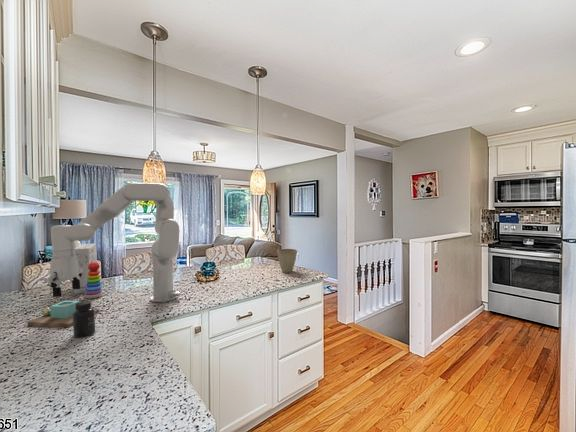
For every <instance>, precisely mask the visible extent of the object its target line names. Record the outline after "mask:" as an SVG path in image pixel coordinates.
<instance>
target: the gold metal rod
mask: <svg viewBox="0 0 576 432" xmlns="http://www.w3.org/2000/svg"><path fill="white" fill-rule="evenodd" d="M49 309H50V306H48V307H45V308H44V310H45V317H48V316H49Z"/></svg>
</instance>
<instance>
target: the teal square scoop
mask: <svg viewBox="0 0 576 432" xmlns="http://www.w3.org/2000/svg"><path fill="white" fill-rule="evenodd" d="M79 302H81V301H80V300H63V301H60V302H57V303H55V304H53V305H50V306H49V315H51V318H68V317H70V316H73V313H74V312H75V311H76V309H75V308H76V307H75V305H76V304H77V303H79ZM62 304H68V305H62ZM43 315H45V309H43V310H42V316H43Z"/></svg>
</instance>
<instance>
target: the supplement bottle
mask: <svg viewBox="0 0 576 432" xmlns="http://www.w3.org/2000/svg"><path fill="white" fill-rule="evenodd" d="M75 307H76V308H75V309H76V311H75V312H74V313H73V325H72V331H73V336H74V337H75V338H85V337H89V336H91V335H93V334H94V333H95V332H96V314H95V311H94V309H95V308H94V307H92V302H91V301H90V300H84V301H80V302H79V303H77V304H76V305H75Z"/></svg>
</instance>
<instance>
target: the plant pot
mask: <svg viewBox="0 0 576 432" xmlns="http://www.w3.org/2000/svg"><path fill="white" fill-rule="evenodd" d="M276 251H277V252H276V253H277V258H278V262H279V266H280V269H281V272H282V273H292V272H293V270H294V267H295V264H296V259H297V256H298V255H297V254H298V249H295V248H294V249H293V248H278V249H277V250H276Z"/></svg>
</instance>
